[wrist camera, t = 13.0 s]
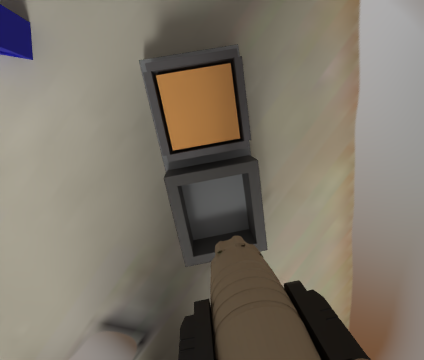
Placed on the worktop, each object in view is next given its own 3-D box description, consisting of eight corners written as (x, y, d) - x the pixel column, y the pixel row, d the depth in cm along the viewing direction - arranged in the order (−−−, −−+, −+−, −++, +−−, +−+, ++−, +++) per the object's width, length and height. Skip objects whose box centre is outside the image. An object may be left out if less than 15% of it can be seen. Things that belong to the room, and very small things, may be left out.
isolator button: (235, 136, 20) (240, 138, 18) (174, 147, 20) (172, 150, 18) (226, 69, 18) (230, 63, 16) (159, 80, 18) (156, 75, 16)
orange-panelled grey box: (255, 227, 26) (269, 251, 21) (185, 241, 26) (184, 268, 21) (233, 51, 20) (246, 30, 16) (143, 66, 20) (128, 48, 15)
